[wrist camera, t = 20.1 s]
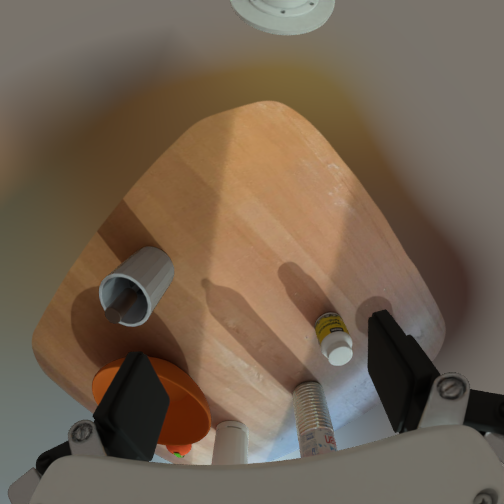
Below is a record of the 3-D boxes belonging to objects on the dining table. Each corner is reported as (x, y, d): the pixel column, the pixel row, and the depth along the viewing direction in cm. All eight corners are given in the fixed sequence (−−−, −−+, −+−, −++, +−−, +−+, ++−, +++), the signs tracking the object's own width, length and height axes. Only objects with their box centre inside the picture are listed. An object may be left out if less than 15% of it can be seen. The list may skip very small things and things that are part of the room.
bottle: (235, 417, 58) (227, 520, 32) (254, 432, 60) (253, 527, 34) (209, 426, 60) (195, 521, 33) (229, 440, 62) (221, 530, 35)
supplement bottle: (337, 306, 48) (352, 337, 39) (345, 328, 50) (360, 360, 40) (309, 318, 49) (319, 351, 40) (319, 340, 50) (329, 374, 41)
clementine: (198, 442, 63) (195, 462, 56) (176, 442, 63) (171, 461, 57) (187, 427, 60) (182, 448, 54) (164, 427, 61) (158, 447, 54)
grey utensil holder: (124, 274, 47) (93, 305, 36) (141, 237, 45) (108, 262, 33) (162, 298, 48) (139, 336, 37) (182, 263, 46) (160, 295, 35)
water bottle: (324, 396, 56) (345, 490, 32) (294, 403, 56) (305, 498, 32) (321, 376, 54) (345, 477, 30) (289, 383, 54) (301, 486, 30)
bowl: (141, 415, 60) (130, 443, 50) (91, 341, 52) (70, 368, 43) (231, 411, 57) (228, 444, 48) (190, 326, 50) (177, 360, 40)
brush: (136, 274, 46) (96, 317, 32) (145, 256, 45) (103, 296, 31) (155, 286, 47) (121, 334, 32) (165, 268, 46) (130, 313, 31)
